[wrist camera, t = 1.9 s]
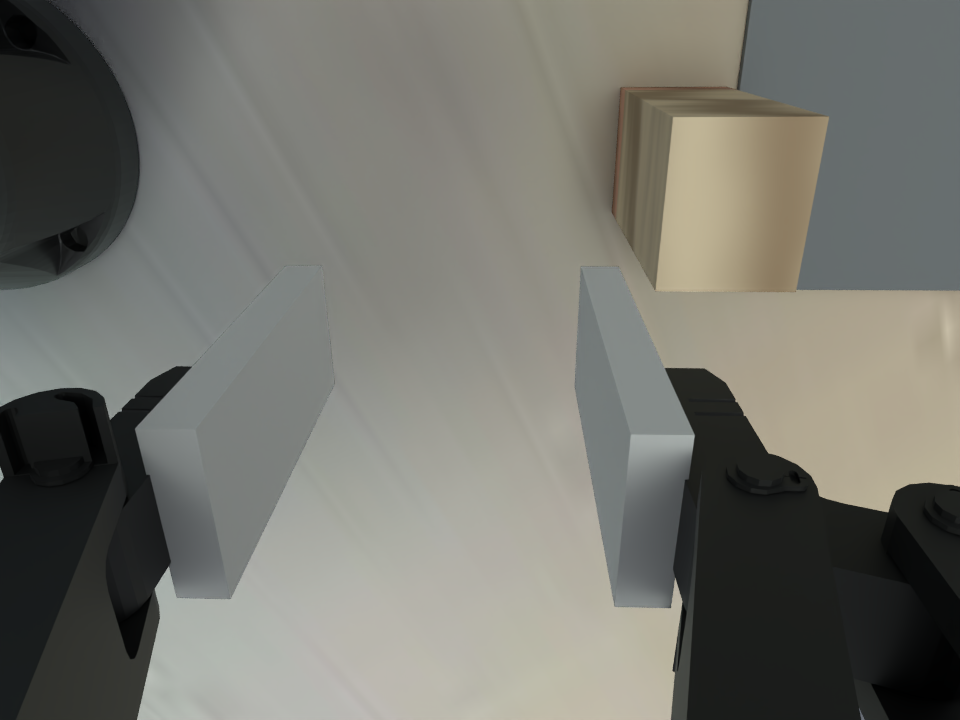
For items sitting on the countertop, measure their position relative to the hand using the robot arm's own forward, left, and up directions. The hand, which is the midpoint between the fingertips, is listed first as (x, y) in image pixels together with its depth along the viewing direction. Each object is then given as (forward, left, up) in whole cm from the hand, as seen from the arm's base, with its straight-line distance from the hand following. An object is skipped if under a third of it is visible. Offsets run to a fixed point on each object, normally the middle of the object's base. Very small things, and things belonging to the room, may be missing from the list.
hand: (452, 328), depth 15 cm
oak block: (+9, 0, -23) cm, 25 cm away
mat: (+22, 0, -23) cm, 32 cm away
